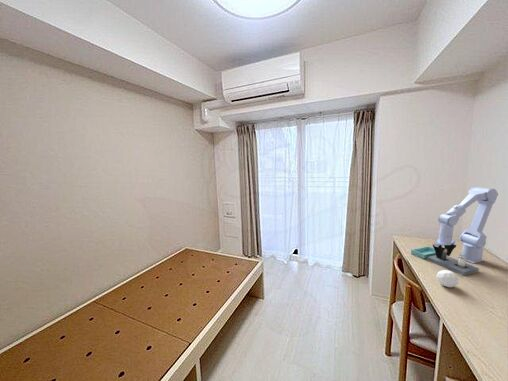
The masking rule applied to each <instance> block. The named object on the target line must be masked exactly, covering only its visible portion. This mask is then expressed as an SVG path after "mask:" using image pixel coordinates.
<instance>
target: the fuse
mask: <svg viewBox="0 0 508 381" xmlns="http://www.w3.org/2000/svg"><path fill="white" fill-rule="evenodd" d="M457 260H458V264H457V266H458V267H460V268H463V269H464V268H465V263H466V262H467V261H466V256H465V255H462V254H458V256H457Z"/></svg>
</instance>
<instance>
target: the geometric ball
mask: <svg viewBox="0 0 508 381" xmlns="http://www.w3.org/2000/svg"><path fill="white" fill-rule="evenodd" d="M436 279H437V281H438V283H439V284H441V285H442V286H443V287H446V288H454V287H455V288H456V286H457V285H458V284H459V277H458V276H457V274H455V273H454V271H452V270H449V269H443V270H439V271H438V272H437V273H436Z"/></svg>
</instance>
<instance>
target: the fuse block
mask: <svg viewBox="0 0 508 381" xmlns="http://www.w3.org/2000/svg"><path fill="white" fill-rule="evenodd" d="M426 261H428V262H431V263H433V264H436V265H437V266H439V267H443V268H445V269H446V270H448V271H451V272H453V273H454V272H455V273H457V274H459V275H461V276H467V275H471V274H475V273H477V272H479V267H477V266H473V265H471V264H469V263H465V268H464V269H463V268H460V267H458V266H457V264H458V259H456V258H453V257H450V256H446V261H443V260H441V259H439V258H438V257H436V255H434V256H429V257H427V259H426Z"/></svg>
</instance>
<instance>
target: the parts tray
mask: <svg viewBox="0 0 508 381" xmlns="http://www.w3.org/2000/svg"><path fill="white" fill-rule="evenodd" d="M410 254H411V255H413V256H416V257H418V258H420V259H422V260H427V257H429V256H434V255H436V253H435V250H434V248H433V246H429V245H427V246H422V247H417V248H413V249H411V252H410Z"/></svg>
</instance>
